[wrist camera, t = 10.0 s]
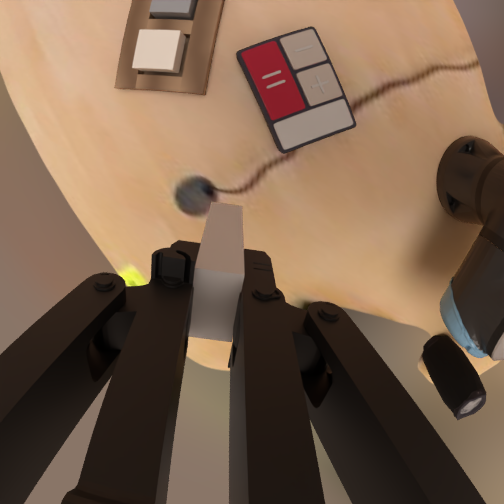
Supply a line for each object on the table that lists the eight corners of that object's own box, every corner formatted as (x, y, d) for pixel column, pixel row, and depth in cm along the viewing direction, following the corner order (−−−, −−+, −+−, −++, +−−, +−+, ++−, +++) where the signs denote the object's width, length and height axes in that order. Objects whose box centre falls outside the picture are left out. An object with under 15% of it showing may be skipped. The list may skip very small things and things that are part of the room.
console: (240, -60, 27) (240, -69, 25) (205, 95, 39) (202, 94, 36) (159, -62, 26) (155, -71, 23) (122, 88, 37) (114, 88, 34)
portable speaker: (414, 363, 63) (447, 427, 46) (426, 332, 59) (467, 398, 42) (442, 357, 64) (476, 416, 46) (455, 328, 60) (497, 387, 42)
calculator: (315, 23, 32) (359, 126, 37) (308, 32, 36) (349, 125, 41) (234, 50, 33) (282, 155, 39) (235, 57, 37) (279, 152, 43)
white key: (185, 37, 32) (180, 30, 29) (178, 72, 34) (172, 69, 31) (148, 35, 32) (139, 29, 28) (141, 70, 34) (132, 67, 30)
